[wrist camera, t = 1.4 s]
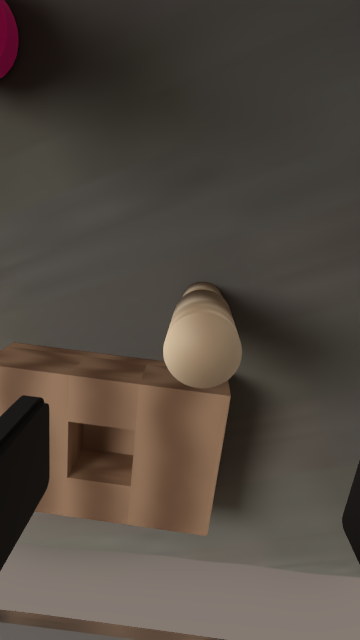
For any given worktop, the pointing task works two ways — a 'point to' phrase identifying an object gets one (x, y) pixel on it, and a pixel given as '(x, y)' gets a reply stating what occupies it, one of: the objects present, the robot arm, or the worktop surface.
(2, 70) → the pepper mill
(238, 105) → the worktop surface
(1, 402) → the board
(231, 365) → the peg
